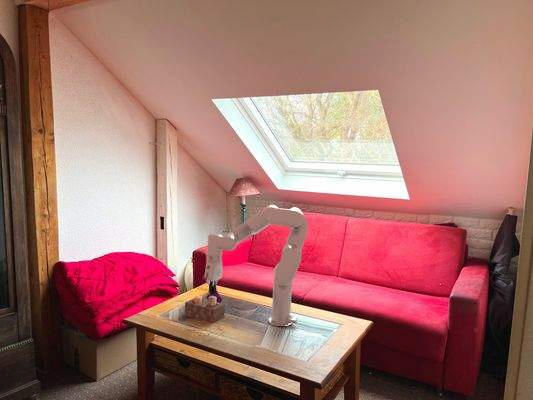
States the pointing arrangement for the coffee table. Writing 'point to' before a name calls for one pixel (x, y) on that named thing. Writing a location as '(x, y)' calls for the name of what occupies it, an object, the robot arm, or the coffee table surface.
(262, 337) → the coffee table surface
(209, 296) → the perfume bottle
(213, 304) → the beech plug
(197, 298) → the terracotta plug
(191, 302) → the walnut block
